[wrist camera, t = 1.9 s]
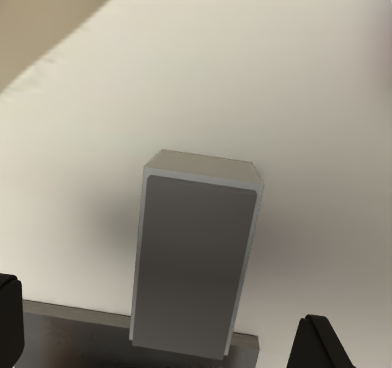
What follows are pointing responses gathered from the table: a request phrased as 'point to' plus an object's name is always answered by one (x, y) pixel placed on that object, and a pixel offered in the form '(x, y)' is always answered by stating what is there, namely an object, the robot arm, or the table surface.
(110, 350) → the cardboard on grey plate
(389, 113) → the table surface
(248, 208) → the block
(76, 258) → the table surface
